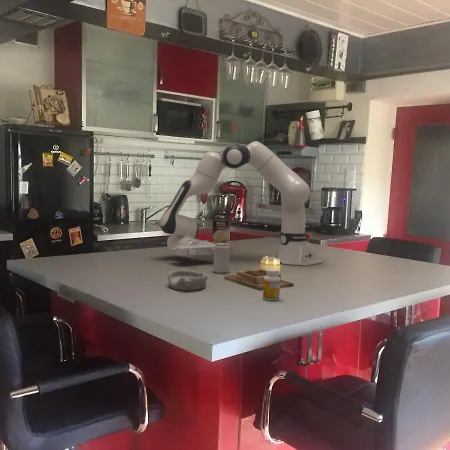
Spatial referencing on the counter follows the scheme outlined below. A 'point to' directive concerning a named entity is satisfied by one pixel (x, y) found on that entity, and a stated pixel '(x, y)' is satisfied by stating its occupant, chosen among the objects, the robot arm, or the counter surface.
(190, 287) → the dish
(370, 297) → the counter surface
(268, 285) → the supplement bottle
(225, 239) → the coffee box
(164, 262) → the counter surface
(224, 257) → the beverage can
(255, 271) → the tray
